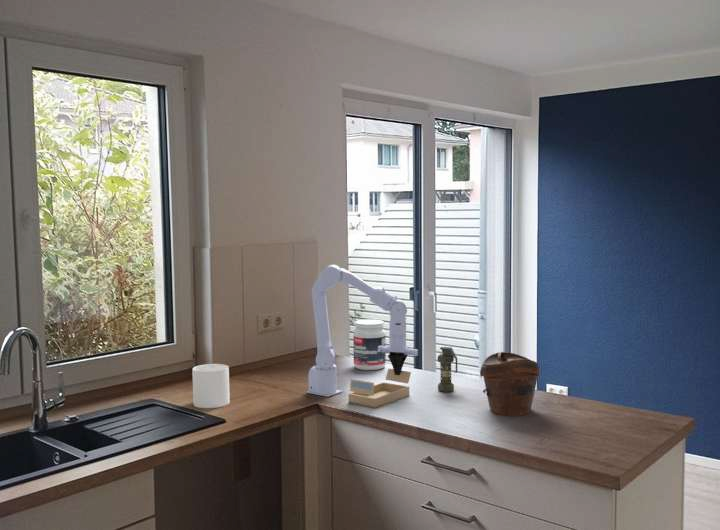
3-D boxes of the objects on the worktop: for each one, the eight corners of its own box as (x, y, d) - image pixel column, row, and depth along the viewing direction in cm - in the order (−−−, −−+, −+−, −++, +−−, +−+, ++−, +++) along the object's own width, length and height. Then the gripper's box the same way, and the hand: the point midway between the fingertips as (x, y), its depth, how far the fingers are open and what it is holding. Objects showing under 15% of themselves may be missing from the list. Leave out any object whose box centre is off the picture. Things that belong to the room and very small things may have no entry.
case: (499, 398, 239) (499, 344, 237) (553, 410, 225) (553, 353, 223) (466, 410, 227) (465, 353, 225) (521, 423, 212) (521, 363, 211)
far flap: (388, 368, 251) (388, 368, 252) (385, 379, 250) (385, 379, 251) (410, 372, 246) (411, 372, 246) (407, 383, 244) (408, 383, 245)
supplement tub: (351, 370, 282) (350, 324, 281) (356, 363, 295) (356, 319, 293) (383, 371, 280) (383, 324, 279) (387, 364, 293) (387, 319, 291)
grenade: (436, 392, 248) (435, 348, 247) (441, 387, 254) (440, 345, 253) (454, 393, 246) (454, 350, 245) (458, 389, 252) (458, 346, 250)
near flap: (350, 390, 236) (349, 391, 235) (351, 378, 235) (350, 378, 235) (373, 395, 230) (372, 395, 229) (374, 382, 230) (373, 382, 229)
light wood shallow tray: (348, 402, 236) (348, 393, 236) (383, 390, 251) (383, 382, 251) (375, 408, 229) (375, 398, 229) (409, 395, 244) (409, 386, 244)
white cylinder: (237, 403, 238) (236, 367, 237) (207, 410, 229) (206, 373, 228) (215, 396, 246) (214, 362, 245) (186, 404, 237) (185, 368, 236)
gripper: (373, 335, 247) (373, 374, 248) (411, 338, 240) (411, 379, 241) (383, 332, 253) (383, 370, 254) (420, 335, 246) (420, 375, 247)
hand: (397, 374), depth 248 cm, fingers closed, pressing on far flap
